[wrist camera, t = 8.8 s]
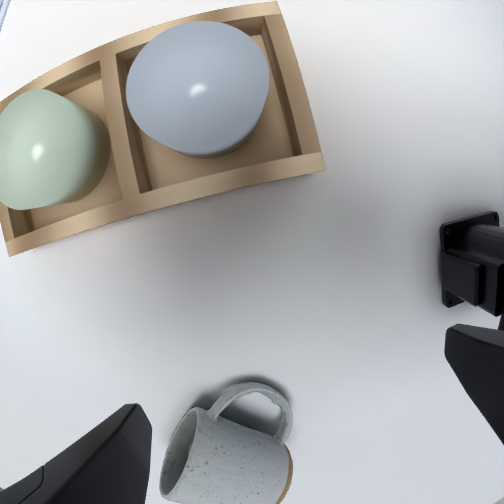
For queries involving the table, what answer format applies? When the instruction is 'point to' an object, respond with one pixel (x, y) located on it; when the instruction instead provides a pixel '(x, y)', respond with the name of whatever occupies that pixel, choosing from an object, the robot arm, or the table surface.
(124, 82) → the divided wooden tray
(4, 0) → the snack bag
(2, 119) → the sage green cylinder
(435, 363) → the table surface
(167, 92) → the pale blue rounded cylinder
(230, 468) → the ceramic mug
